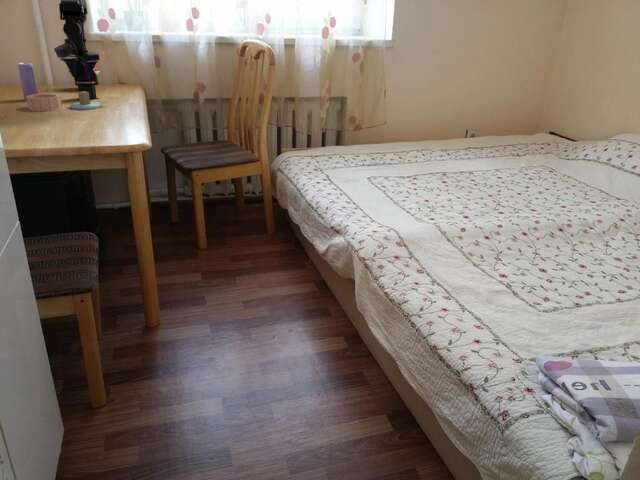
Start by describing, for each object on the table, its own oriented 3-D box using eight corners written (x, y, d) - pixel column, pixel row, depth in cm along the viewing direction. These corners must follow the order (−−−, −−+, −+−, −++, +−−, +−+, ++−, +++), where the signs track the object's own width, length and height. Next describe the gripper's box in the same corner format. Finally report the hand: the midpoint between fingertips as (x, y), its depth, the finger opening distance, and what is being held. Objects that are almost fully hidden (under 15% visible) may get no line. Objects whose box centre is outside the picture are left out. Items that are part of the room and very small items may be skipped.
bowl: (50, 105, 218) (48, 92, 216) (68, 108, 213) (66, 95, 210) (22, 109, 209) (19, 96, 207) (40, 113, 203) (38, 99, 201)
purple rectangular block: (33, 101, 224) (26, 64, 218) (21, 100, 225) (13, 63, 219) (43, 99, 229) (36, 63, 223) (30, 98, 231) (24, 62, 224)
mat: (90, 104, 222) (90, 103, 221) (106, 107, 217) (106, 106, 217) (64, 108, 212) (64, 107, 212) (80, 111, 208) (80, 110, 207)
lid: (88, 103, 221) (86, 89, 219) (106, 107, 216) (104, 91, 214) (65, 107, 213) (62, 92, 210) (82, 110, 207) (80, 95, 205)
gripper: (40, 35, 201) (48, 77, 208) (71, 38, 193) (78, 82, 199) (67, 34, 210) (73, 75, 217) (97, 37, 201) (103, 79, 208)
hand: (81, 78), depth 210 cm, fingers open, 9 cm apart
